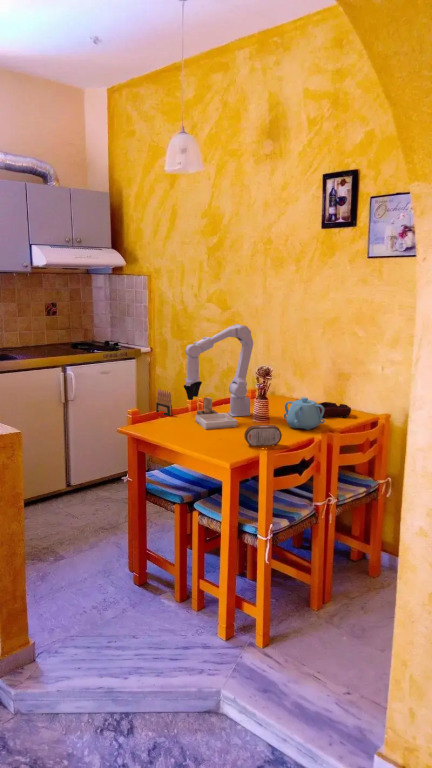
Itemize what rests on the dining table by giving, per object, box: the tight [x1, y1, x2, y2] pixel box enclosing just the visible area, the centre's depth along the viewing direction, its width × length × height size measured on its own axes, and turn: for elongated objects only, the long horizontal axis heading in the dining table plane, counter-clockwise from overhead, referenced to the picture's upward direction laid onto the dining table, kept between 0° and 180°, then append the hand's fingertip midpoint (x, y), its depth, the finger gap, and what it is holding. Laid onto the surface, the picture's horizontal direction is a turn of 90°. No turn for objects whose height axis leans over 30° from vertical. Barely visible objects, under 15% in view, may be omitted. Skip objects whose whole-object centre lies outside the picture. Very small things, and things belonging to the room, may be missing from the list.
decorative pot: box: [283, 396, 326, 431], centre depth 265 cm, size 16×16×14 cm
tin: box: [243, 424, 283, 447], centre depth 236 cm, size 15×3×8 cm, turn 99°
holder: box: [196, 409, 218, 415], centre depth 284 cm, size 8×8×2 cm
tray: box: [195, 412, 238, 430], centre depth 269 cm, size 15×15×3 cm
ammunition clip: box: [155, 388, 173, 417], centre depth 287 cm, size 11×2×12 cm, turn 43°
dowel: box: [203, 396, 213, 414], centre depth 283 cm, size 4×4×9 cm
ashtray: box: [318, 401, 352, 419], centre depth 290 cm, size 18×16×5 cm
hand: (193, 398), depth 279 cm, fingers open, 7 cm apart
